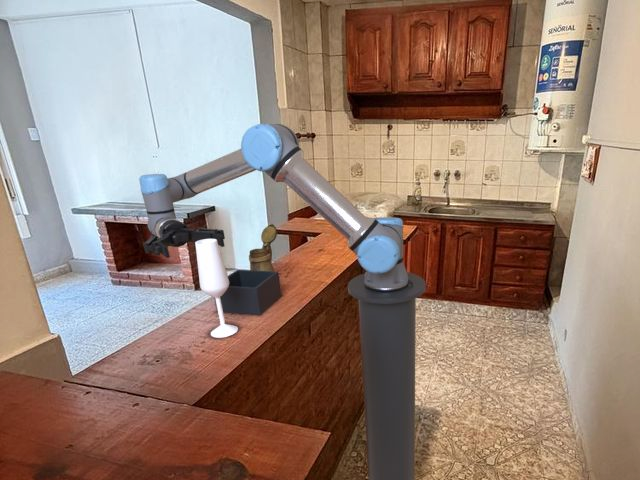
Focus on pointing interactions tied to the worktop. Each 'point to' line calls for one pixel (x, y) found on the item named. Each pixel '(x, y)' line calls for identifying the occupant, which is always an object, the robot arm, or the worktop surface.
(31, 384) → the worktop surface
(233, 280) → the dark grey open box
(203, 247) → the champagne flute
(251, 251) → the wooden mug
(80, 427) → the worktop surface
